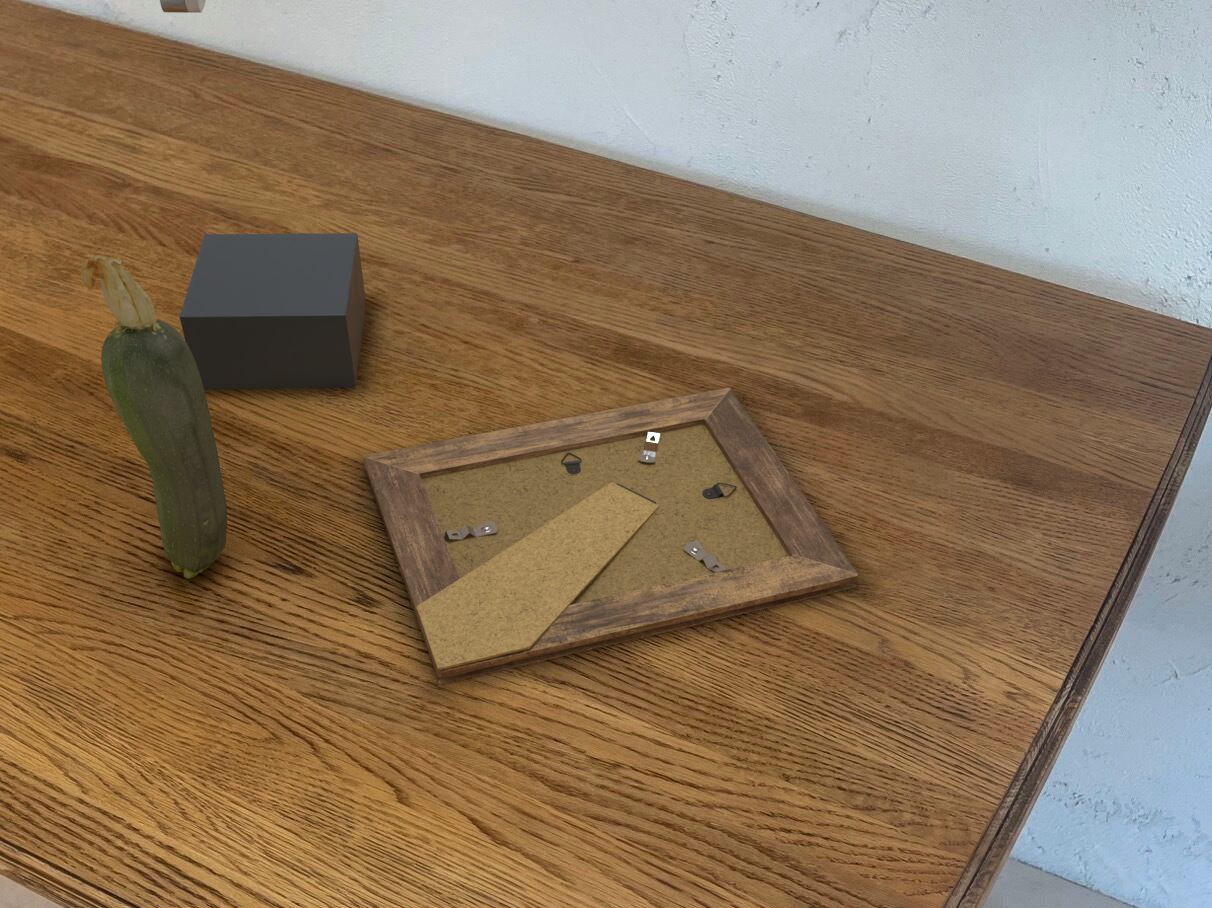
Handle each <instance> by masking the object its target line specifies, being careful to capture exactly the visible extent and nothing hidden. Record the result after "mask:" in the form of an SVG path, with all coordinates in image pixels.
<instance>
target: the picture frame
mask: <svg viewBox="0 0 1212 908" xmlns="http://www.w3.org/2000/svg"><path fill="white" fill-rule="evenodd" d="M362 459H363V462H362V463H363V464H364V472H365V474H366V478H367V480H368V484H369V485H370V489H371V491H372V495H373V498H374V500H375V503H376V506H377V509H378V512H379V515H380V518H381V520H382V523H383V526H384V529H385V532H386V535H387V538H388V541H389V543H390V547H391V549H392V553H393V555H394V559H395V561H396V564H397V567H398V569H399V573H400V576H401V578H402V580H403V584H404V587H405V589H406V592H407V595H408V598H409V601H410V604H411V607H412V610H413V613H414V615H415V618H416V622H417V624H418V627H419V630H420V633H421V636H422V639H423V641H424V645H425V648H426V651H427V653H428V656H429V659H430V662H431V665H432V668H433V670H434V673H435V676H436V680H437V682H438V685H446V684H451V683H454V682H459V681H463V680H468V679H472V678H476V677H480V676H484V675H485V676H486V675H489V674H493V673H497V672H501V671H502V672H503V671H505V670H506V671H507V670H510V669H514V668H515V669H516V668H519V667H524V666H527V665H531V664H535V663H541V662H544V661H548V660H552V659H557V658H562V657H566V656H570V655H573V654H578V653H582V652H587V651H591V650H595V649H600V648H604V647H608V646H614V645H616V644H620V643H625V642H629V641H634V640H639V639H642V638H647V637H650V636H655V635H660V634H663V633H664V634H665V633H668V632H673V631H676V630H680V629H685V628H689V627H694V626H698V625H702V624H706V623H710V622H716V621H719V620H723V619H727V618H733V617H737V616H740V615H745V614H749V613H753V612H757V611H762V610H767V609H770V608H775V607H780V606H783V605H787V604H792V603H795V602H796V603H797V602H800V601H804V600H809V599H813V598H817V597H821V596H825V595H829V594H834V593H839V592H842V591H847V590H852V589H855V588H857V585H856V583H857V582H858V579H859V573H858V572H857V570H856V569H855V568H854V566H853V564H852V563H851V562H850V560H849V558H847V556H846V554H845V553H844V551H843V550H842V548H841V547H840V546H839V544H838V542H837V541H836V539H835V538H834V537H833V535H832V534H831V532H830V531H829V530H828V528H827V526H826V525H825V524H824V522H823V521H822V519H821V518H820V517H819V515H818V514H817V512H816V510H815V509H814V508H813V506H812V504H811V503H810V501H809V500H808V499H807V497H806V496H805V495H804V493H803V491H802V490H801V489H800V487H799V486H798V484H797V483H796V482H795V480H794V479H793V477H792V475H791V474H790V472H789V471H788V470H787V468H786V467H785V466H784V464H783V463H782V461H781V459H780V458H779V457H778V455H777V454H776V453H775V450H774V449H773V448H772V446H771V445H770V444H769V442H768V441H767V439H766V438H765V436H764V435H763V433H762V432H761V431H760V429H759V428H758V426H757V425H756V423H755V421H754V420H753V419H752V417H751V416H750V415H749V413H748V411H747V410H746V409H745V407H744V406H743V404H742V403H741V401H740V400H739V398H738V397H737V396H736V394H735V393H734V391H733V390H732V388H731V387H725V388H724V387H723V388H719V389H714V390H708V391H703V392H698V393H692V394H686V395H682V396H676V397H671V398H665V399H659V400H654V401H649V402H644V403H638V404H633V405H628V406H621V407H617V408H611V409H606V410H600V411H595V412H589V413H585V414H579V415H574V416H568V417H563V418H558V419H553V420H547V421H542V422H536V423H530V424H525V425H520V426H515V427H509V428H504V429H498V430H493V431H487V432H482V433H478V434H477V433H476V434H472V435H471V434H470V435H467V436H460V437H456V438H450V439H444V440H439V441H434V442H428V443H423V444H418V445H413V446H407V447H400V448H397V449H391V450H385V451H380V452H376V453H375V452H374V453H369V454H364V455H362Z"/></svg>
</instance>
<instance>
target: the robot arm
mask: <svg viewBox="0 0 1212 908" xmlns="http://www.w3.org/2000/svg"><path fill="white" fill-rule="evenodd" d="M159 5H160V8H161V10H162V11H163V13H179V14H180V13H181V14H182V13H183V14H184V13H191V14H192V13H195V14H196V13H198V14H199V13H201V14H202V13H203V11H204V8H205V5H206V0H159Z"/></svg>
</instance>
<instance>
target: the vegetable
mask: <svg viewBox="0 0 1212 908" xmlns="http://www.w3.org/2000/svg"><path fill="white" fill-rule="evenodd" d="M94 275H95V277H94ZM79 276H80V278H81V281H82V282H83V284H84V285H85V286H87V290H88V291H89V292H90V291H93V289H94V285H95V284H96V281H97V280H96V278H97V279H98V278H99V279H100V281H99V285H100V290H101V293H102V295H103V298H104V300H105V303H106V306H107V308H108V309H109V311H110V312H111V313H112V314H113V316H114V317H115V319H116V320H117V321H115V322H114V326H115V327H114V328H113V329H112V331H110V332H109V333H108V335H107V336H106V338H105V339H104V341H103V344H102V347H101V354H100V361H101V363H100V364H101V371H102V377H103V379H104V382H105V387H106V390H107V392H108V394H109V396H110V398H111V401H112V403H113V405H114V407H115V409H116V411H117V413H118V414H119V416H120V418H121V420H122V422H123V425H124V426H125V428H126V430H127V433H128V434H129V436H130V438H131V440H132V442H133V444H134V446H135V448H136V449H137V451H138V452H139V454H140V455H141V457H142V459H143V460H144V462H145V463H146V464H147V468H148V471H149V473H150V477H151V480H152V486H153V487H152V488H153V495H154V500H155V507H156V513H157V517H158V523H159V528H160V540H161V543H162V547H163V550H164V552H165V555H166V557H167V559H168V561H169V562H170V564H171V566H172V567H173V570H174V571H176V572H177V573H182V574H183V577H184V578H185V579H193V578H195V577H196V576H197V575H198V574H201V573H203V571H204V570H206V569H208V568H210V567H211V565H212V564H213V563H215V561H216V560H217V559H218V558H219V557H220V555H221V554H222V552H223V551H224V549H225V546H226V542H227V529H228V528H227V527H228V507H227V506H228V505H227V499H226V498H227V497H226V495H225V488H224V482H223V477H222V471H221V465H220V458H219V453H218V447H217V444H216V439H215V435H214V434H215V433H214V431H213V424H212V420H211V414H210V409H209V405H208V400H207V397H206V391H205V390H204V387H203V384H202V380H201V377H200V374H199V370H198V367H197V364H196V362H195V359H194V357H193V354H192V352H191V350H190V348H189V347H188V345H187V343H186V342H185V338H184V336H182V335H181V334H180V333H179V331H178V330H177V329H175V327H172V325H170V324H169V323H167V322H165V321H162V320H160V319H158V318H157V317H156V315H155V305H154V302H153V301H152V299H151V297H150V296H149V295H148V293H147V292H146V291H145V290H144V289H143V287H142V286H141V285H140V284H139V283H138V282H137V281H136V280H135V279H134V278H133V276H132V272H131V271H130V270H128V269H126V267H125V266H123V265H122V260H119V259H116V258H114V259H112V258H110V257H106V256H104V255H100V254H98V255H96V254H95V255H94V256H91V257H89V258H88V259H86V260H85V261H83V263H82V266H81V268H80V274H79Z"/></svg>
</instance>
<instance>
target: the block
mask: <svg viewBox="0 0 1212 908" xmlns="http://www.w3.org/2000/svg"><path fill="white" fill-rule="evenodd" d="M201 240H202V241H201V244H200V247H199V251H198V253H197V257H196V261H195V264H194V268H193V271H192V273H191V278H190V281H189V284H188V287H187V290H186V294H185V297H184V301H183V304H182V307H181V311H180V314H179V320H180V321H179V322H180V324H181V329H182V333H183V339H184V340H185V342H186V343H187V345H188V347H189V348H190V350H191V352H192V354H193V357H194V359H195V362H196V364H197V367H198V370H199V374H200V377H201V380H202V384H203V387H204V391H221V390H222V391H223V390H224V391H225V390H227V391H228V390H229V391H230V390H231V391H233V390H293V389H297V390H298V389H355V388H357V382H358V375H359V368H360V367H359V366H360V358H361V350H362V343H363V334H364V325H365V318H366V309H367V299H366V298H367V297H366V292H365V291H366V290H365V283H364V275H363V268H362V267H363V266H362V260H361V259H362V257H361V252H360V244H359V235H358V233H356V232H354V233H353V232H352V233H351V232H348V233H347V232H345V233H344V232H343V233H342V232H339V233H336V232H335V233H334V232H333V233H331V232H329V233H325V232H324V233H323V232H322V233H205V234H204V235H203V238H202V239H201Z"/></svg>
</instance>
